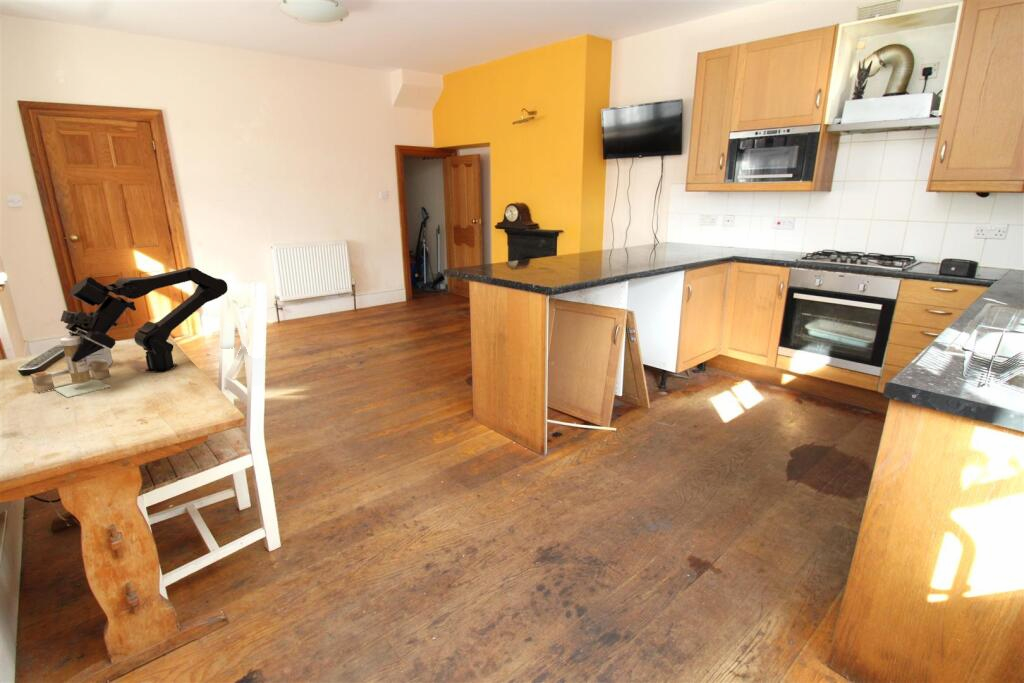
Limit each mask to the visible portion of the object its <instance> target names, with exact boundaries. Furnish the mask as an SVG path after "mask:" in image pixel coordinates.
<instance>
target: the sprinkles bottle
mask: <svg viewBox="0 0 1024 683" xmlns="http://www.w3.org/2000/svg"><path fill="white" fill-rule="evenodd" d="M60 344H61V346H62V350H63V352H64V358H65V361H66V362H65V363H66V364H67V365H66V366H67V369H69V375H70V378H71V383H72V384H81V383H85V382H88V381H90V380H93V379H92V378H93V377H92V376H91V372H90V370H89V367H88V364H87V360H86V357H85V358H83V359H81V360H79V361H77V362H73V361H71V360H72V358H73V356H74V354H75V353H76V351H77V349H78V348H79V346H80V344H81V340H80V336H68V335H67V336H63V337H61V339H60Z"/></svg>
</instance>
